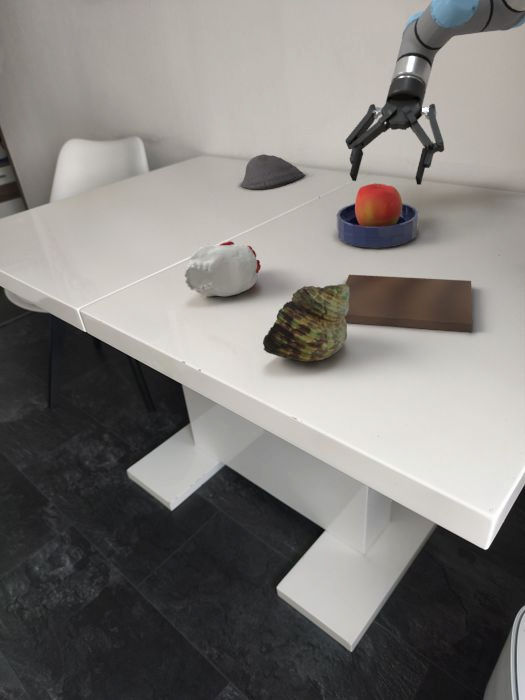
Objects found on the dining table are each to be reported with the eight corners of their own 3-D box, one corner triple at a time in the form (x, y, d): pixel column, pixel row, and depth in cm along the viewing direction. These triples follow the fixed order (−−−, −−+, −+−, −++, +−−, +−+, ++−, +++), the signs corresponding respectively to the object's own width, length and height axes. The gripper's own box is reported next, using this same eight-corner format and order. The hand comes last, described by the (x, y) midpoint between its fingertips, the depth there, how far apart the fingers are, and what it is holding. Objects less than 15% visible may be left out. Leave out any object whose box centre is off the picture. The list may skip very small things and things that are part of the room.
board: (469, 288, 89) (471, 280, 88) (471, 332, 78) (472, 323, 77) (348, 282, 94) (348, 274, 94) (334, 321, 83) (333, 313, 83)
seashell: (274, 332, 82) (269, 272, 77) (350, 333, 80) (350, 271, 75) (263, 372, 74) (256, 307, 68) (347, 374, 71) (347, 308, 66)
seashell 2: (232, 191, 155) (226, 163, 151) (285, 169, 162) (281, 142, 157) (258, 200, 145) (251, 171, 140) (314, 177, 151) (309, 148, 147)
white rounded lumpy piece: (184, 303, 92) (220, 276, 104) (246, 308, 88) (275, 279, 101) (178, 251, 88) (216, 229, 100) (242, 255, 84) (273, 231, 97)
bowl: (419, 221, 116) (420, 201, 114) (414, 251, 103) (415, 228, 101) (344, 220, 121) (344, 200, 118) (330, 248, 108) (330, 226, 106)
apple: (389, 243, 106) (391, 193, 101) (345, 237, 111) (345, 189, 106) (406, 227, 113) (410, 179, 107) (364, 222, 117) (365, 175, 112)
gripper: (471, 97, 111) (448, 192, 108) (355, 99, 122) (332, 185, 119) (469, 72, 104) (446, 172, 102) (347, 76, 115) (322, 167, 112)
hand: (384, 179), depth 110 cm, fingers open, 13 cm apart
